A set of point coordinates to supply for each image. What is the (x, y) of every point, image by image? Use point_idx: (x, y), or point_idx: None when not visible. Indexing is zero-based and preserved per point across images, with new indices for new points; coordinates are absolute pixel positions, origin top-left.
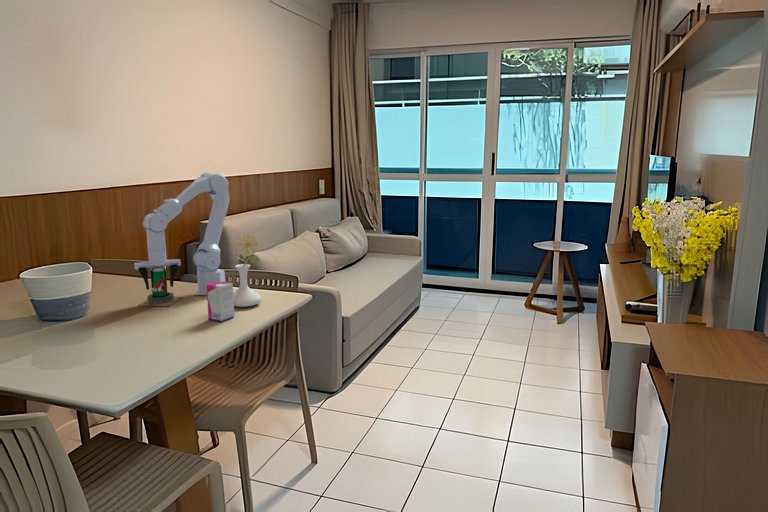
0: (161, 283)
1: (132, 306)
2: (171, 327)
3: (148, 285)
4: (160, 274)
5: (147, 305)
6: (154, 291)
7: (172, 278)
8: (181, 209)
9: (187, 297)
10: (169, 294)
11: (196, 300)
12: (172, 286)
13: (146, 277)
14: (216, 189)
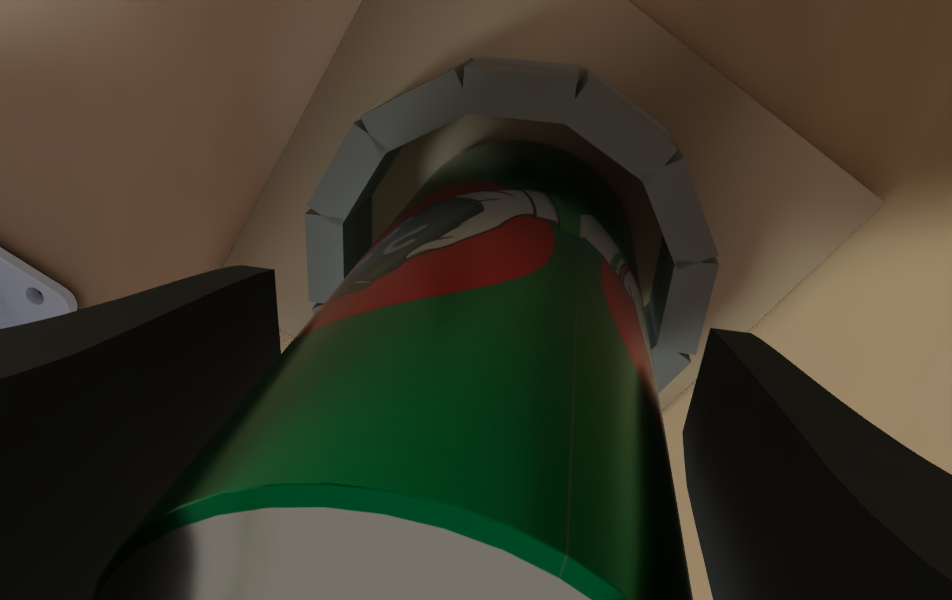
0: (442, 248)
1: (937, 246)
2: None
3: (746, 360)
4: (373, 394)
5: (760, 106)
6: (617, 246)
7: (111, 317)
8: None
9: (167, 263)
10: None
11: (49, 35)
12: (243, 265)
13: (895, 491)
14: None
